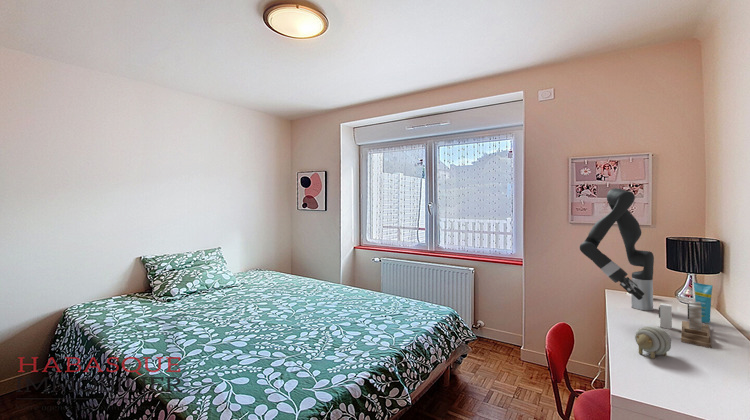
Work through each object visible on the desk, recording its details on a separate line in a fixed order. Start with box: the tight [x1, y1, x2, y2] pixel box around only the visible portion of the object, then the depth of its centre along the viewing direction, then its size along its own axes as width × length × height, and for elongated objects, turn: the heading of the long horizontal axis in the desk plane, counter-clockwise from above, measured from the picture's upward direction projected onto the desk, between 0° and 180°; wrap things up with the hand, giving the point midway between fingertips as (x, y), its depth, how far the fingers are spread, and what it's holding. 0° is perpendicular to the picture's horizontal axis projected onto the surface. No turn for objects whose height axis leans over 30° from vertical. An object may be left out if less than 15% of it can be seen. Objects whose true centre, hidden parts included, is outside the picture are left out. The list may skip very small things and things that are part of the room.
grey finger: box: [658, 303, 673, 330], centre depth 153 cm, size 4×3×11 cm, turn 45°
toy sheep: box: [634, 326, 672, 360], centre depth 126 cm, size 11×17×11 cm, turn 114°
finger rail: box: [680, 300, 712, 349], centre depth 144 cm, size 9×28×12 cm, turn 135°
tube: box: [693, 282, 713, 324], centre depth 159 cm, size 7×5×19 cm, turn 23°
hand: (642, 297), depth 159 cm, fingers open, 8 cm apart
